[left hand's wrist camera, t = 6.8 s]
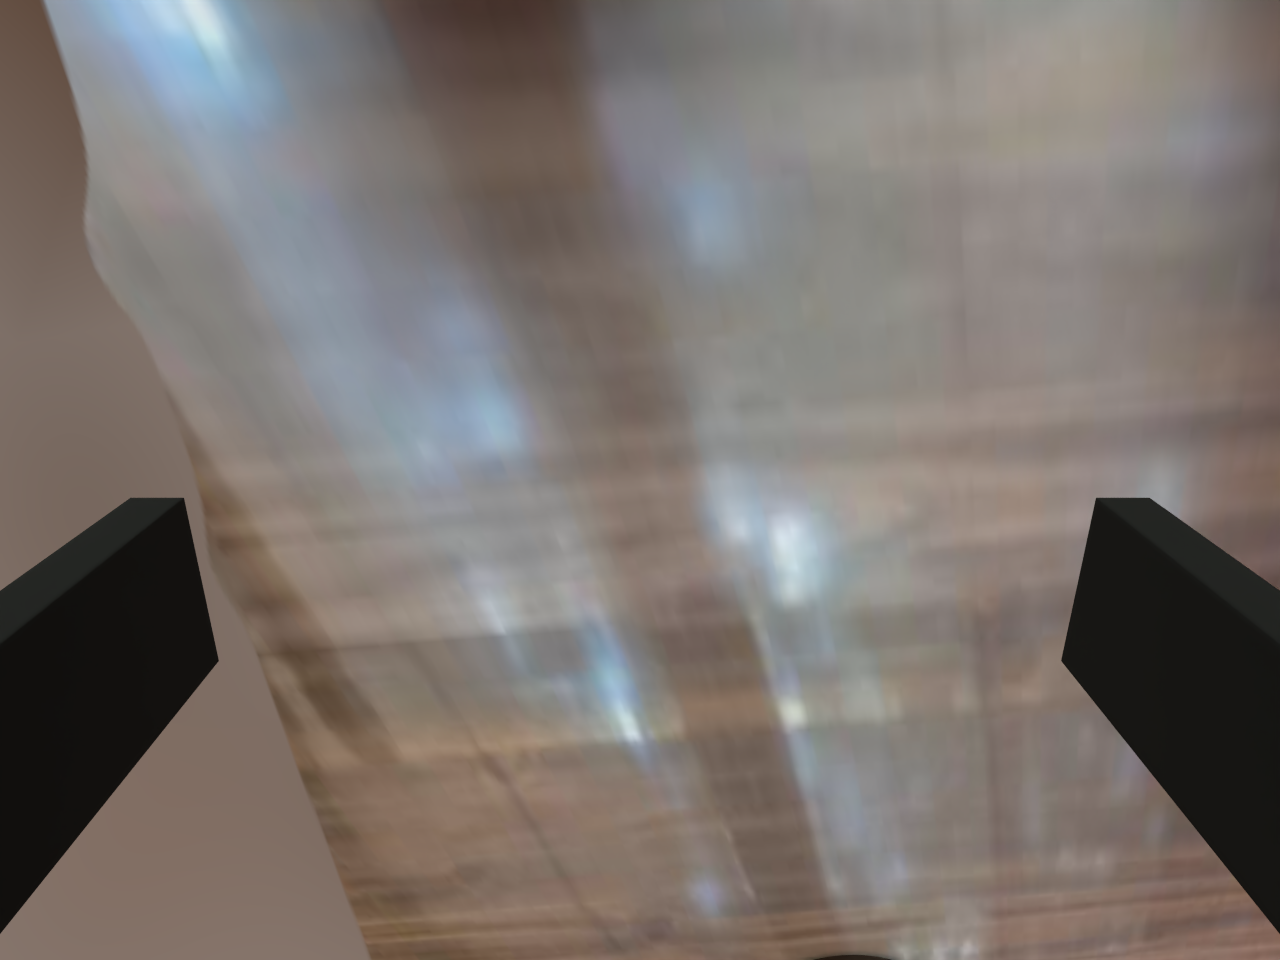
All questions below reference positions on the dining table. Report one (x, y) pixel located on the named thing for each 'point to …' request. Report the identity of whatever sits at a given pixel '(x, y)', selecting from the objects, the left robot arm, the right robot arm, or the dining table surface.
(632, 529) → the dining table surface
